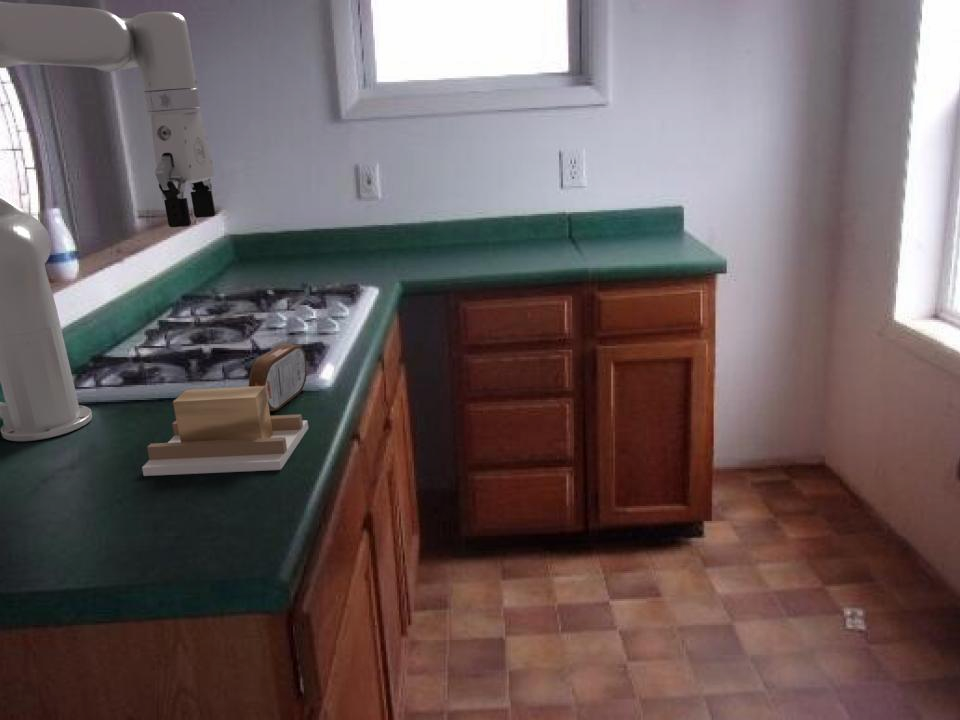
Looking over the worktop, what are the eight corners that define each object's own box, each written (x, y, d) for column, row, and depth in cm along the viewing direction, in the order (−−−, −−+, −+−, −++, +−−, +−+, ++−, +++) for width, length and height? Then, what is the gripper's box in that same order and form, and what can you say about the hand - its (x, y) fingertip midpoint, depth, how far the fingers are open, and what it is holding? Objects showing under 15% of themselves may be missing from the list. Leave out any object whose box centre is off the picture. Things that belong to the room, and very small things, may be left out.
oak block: (263, 447, 113) (255, 397, 111) (182, 451, 114) (172, 401, 112) (273, 434, 118) (265, 385, 116) (195, 437, 119) (186, 390, 117)
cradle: (143, 475, 110) (139, 454, 110) (185, 434, 124) (182, 414, 123) (280, 469, 109) (277, 447, 108) (308, 428, 122) (305, 408, 121)
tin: (295, 385, 142) (288, 336, 139) (313, 386, 141) (306, 336, 138) (251, 419, 128) (242, 365, 125) (270, 420, 127) (261, 365, 125)
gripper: (173, 102, 117) (195, 228, 122) (219, 101, 133) (236, 212, 138) (120, 107, 117) (144, 232, 122) (172, 104, 134) (191, 215, 139)
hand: (193, 221), depth 130 cm, fingers open, 9 cm apart
